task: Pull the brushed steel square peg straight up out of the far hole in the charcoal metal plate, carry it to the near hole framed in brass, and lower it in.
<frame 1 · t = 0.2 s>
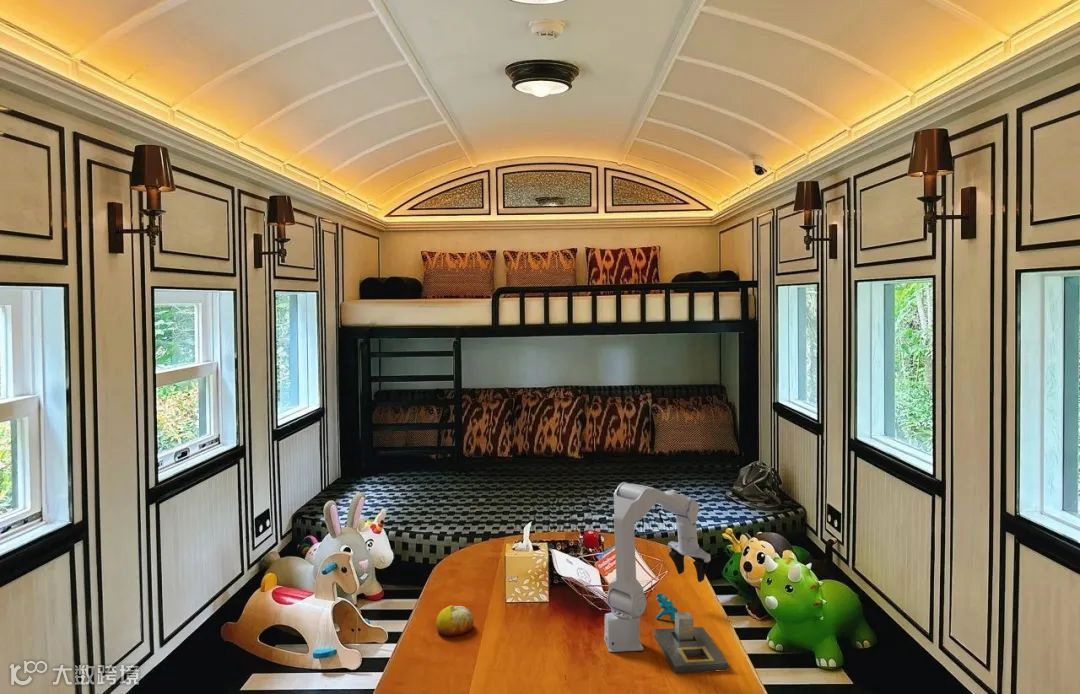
hand: (691, 576, 213), 11 cm above the table, tool pointing down, fingers open, 7 cm apart
steel peg: (683, 643, 193), resting in hole plate
hole plate: (689, 652, 188), on the table
teal lobed piece: (668, 620, 208), on the table
fruit: (455, 630, 202), on the table
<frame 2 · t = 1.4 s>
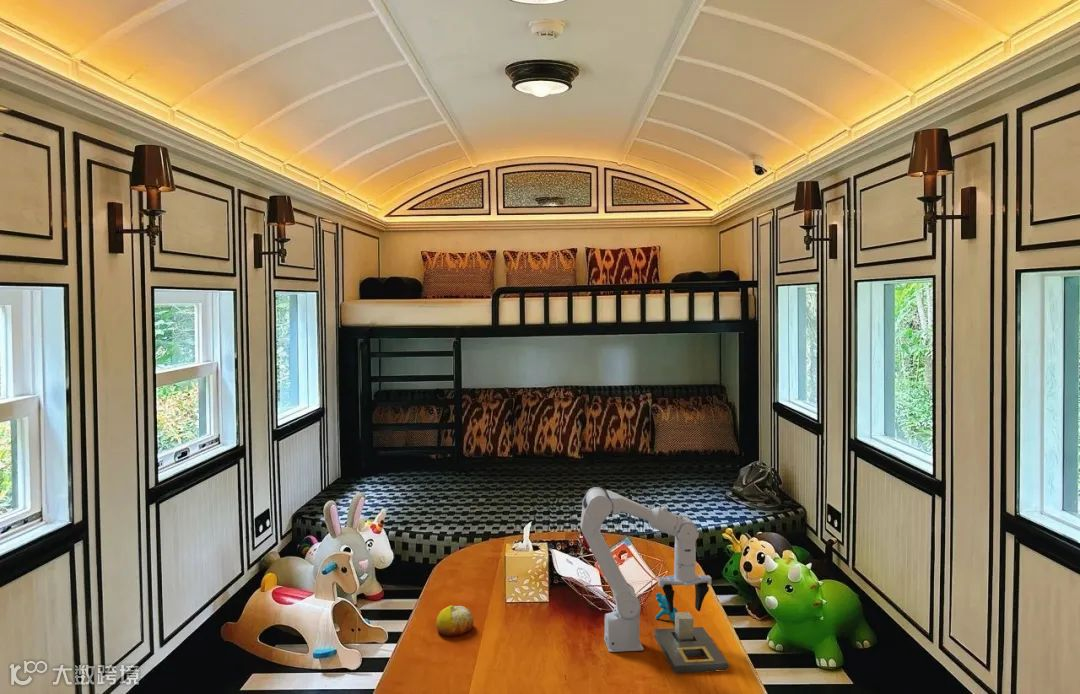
hand: (684, 610, 193), 9 cm above the table, tool pointing down, fingers open, 7 cm apart
nothing on the table moved.
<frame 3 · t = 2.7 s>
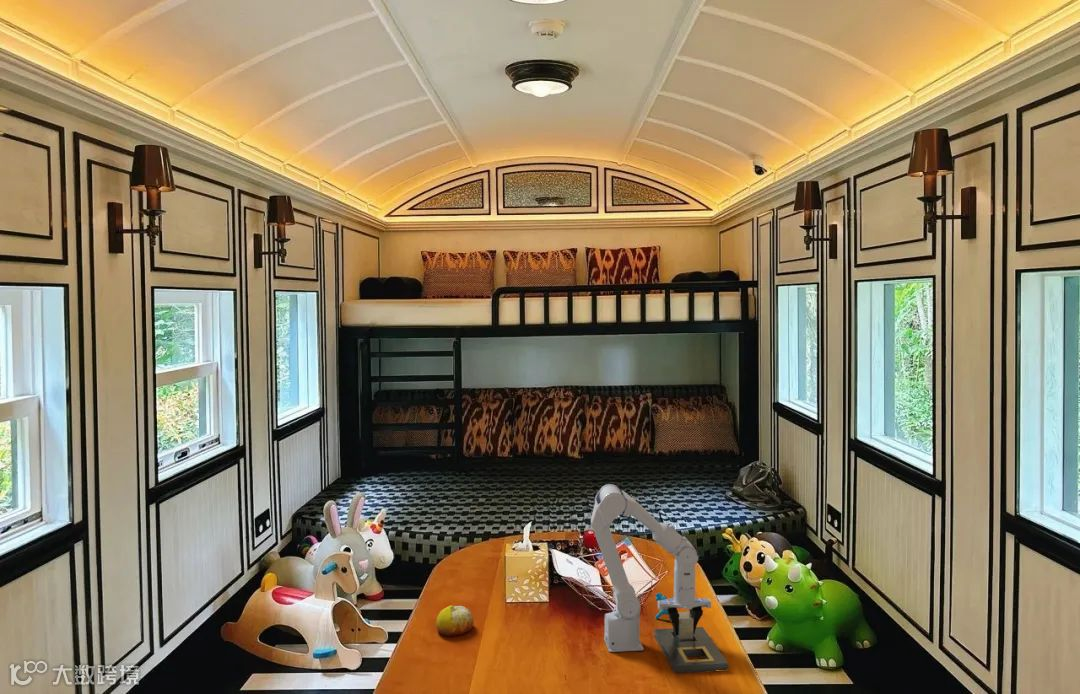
hand: (683, 633, 193), 3 cm above the table, tool pointing down, fingers closed on steel peg, 4 cm apart
steel peg: (683, 643, 193), resting in hole plate, touching gripper
everything else where it was.
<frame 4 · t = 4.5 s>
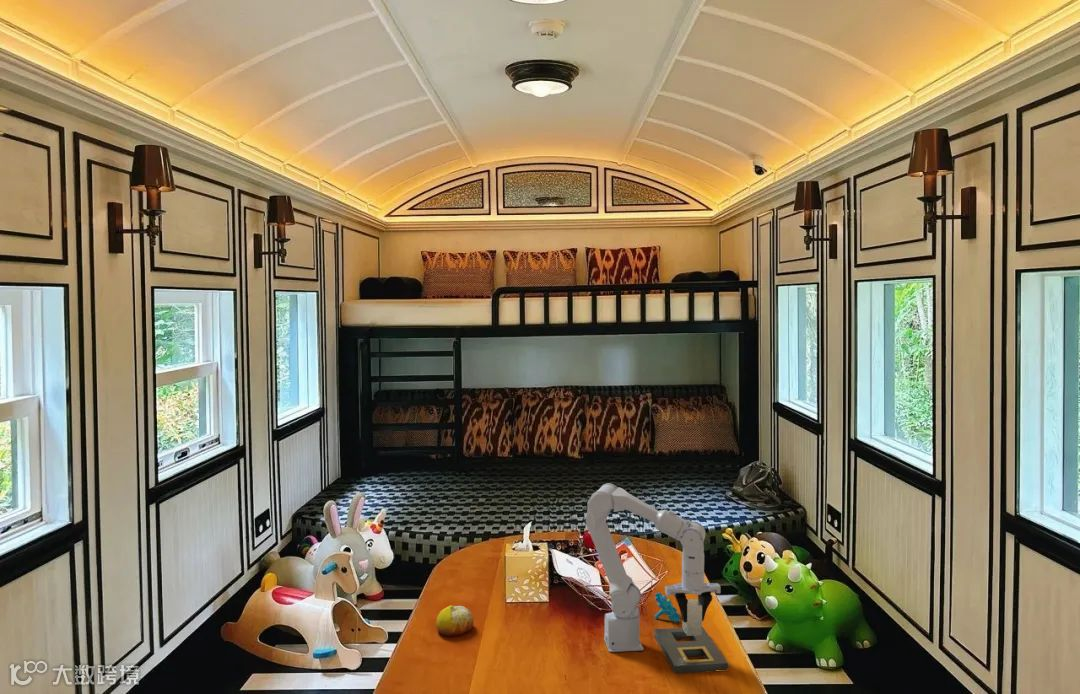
hand: (692, 620, 186), 10 cm above the table, tool pointing down, fingers closed on steel peg, 4 cm apart
steel peg: (692, 632, 186), point 7 cm above the table, touching gripper
everything else where it was.
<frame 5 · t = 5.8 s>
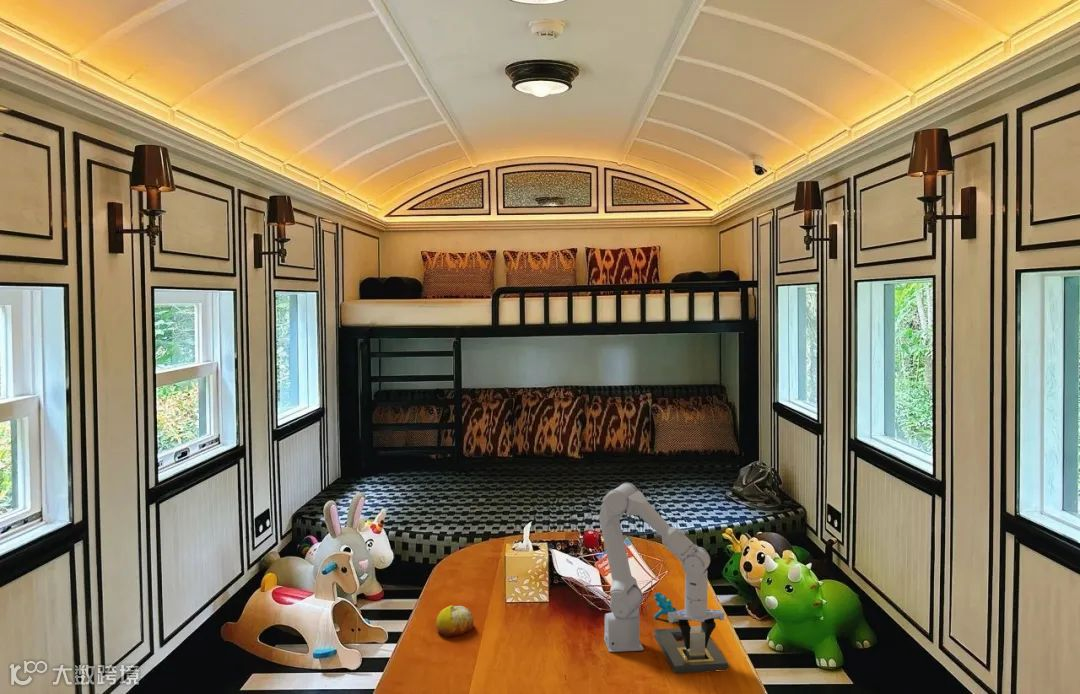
hand: (695, 646, 183), 4 cm above the table, tool pointing down, fingers closed on steel peg, 4 cm apart
steel peg: (695, 659, 184), point 1 cm above the table, touching gripper
everything else where it was.
when the fingers open (4 cm above the table, at t = 6.7 s): steel peg stays where it is, resting in hole plate.
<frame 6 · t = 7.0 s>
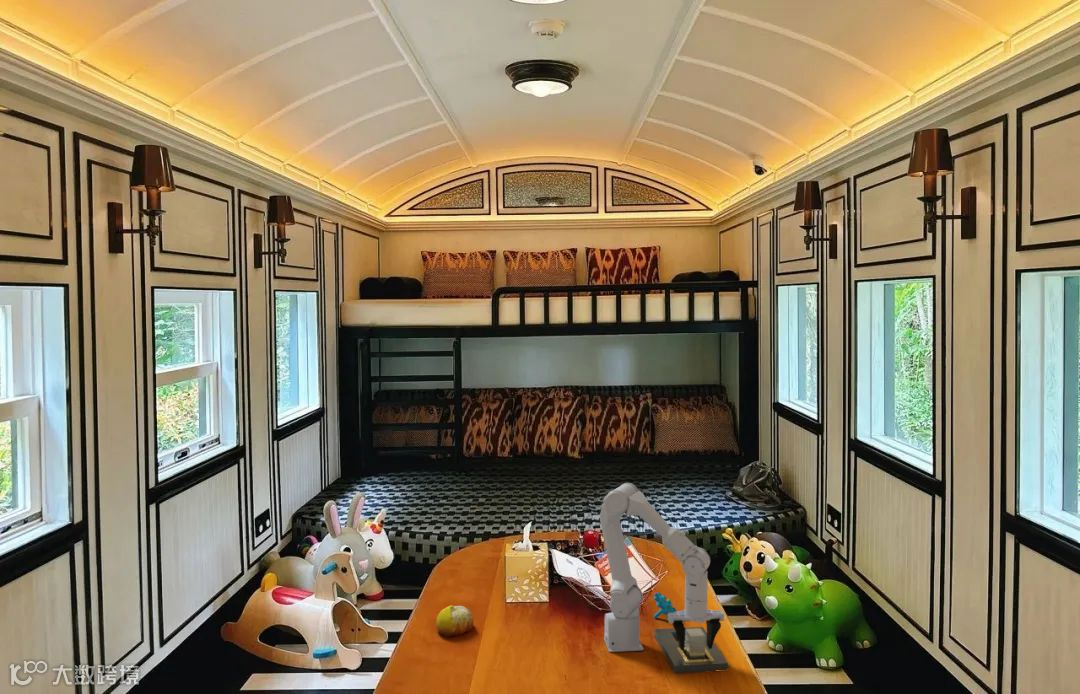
hand: (695, 647, 183), 4 cm above the table, tool pointing down, fingers open, 7 cm apart
steel peg: (694, 661, 184), resting in hole plate
everything else where it was.
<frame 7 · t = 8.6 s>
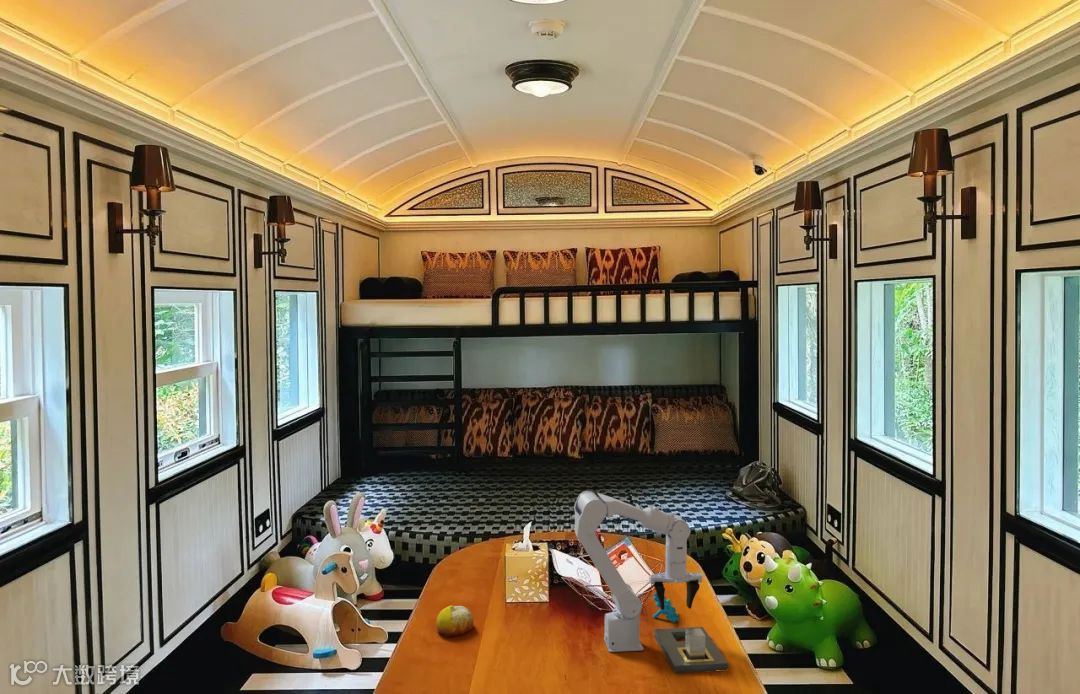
hand: (675, 607, 194), 9 cm above the table, tool pointing down, fingers open, 7 cm apart
nothing on the table moved.
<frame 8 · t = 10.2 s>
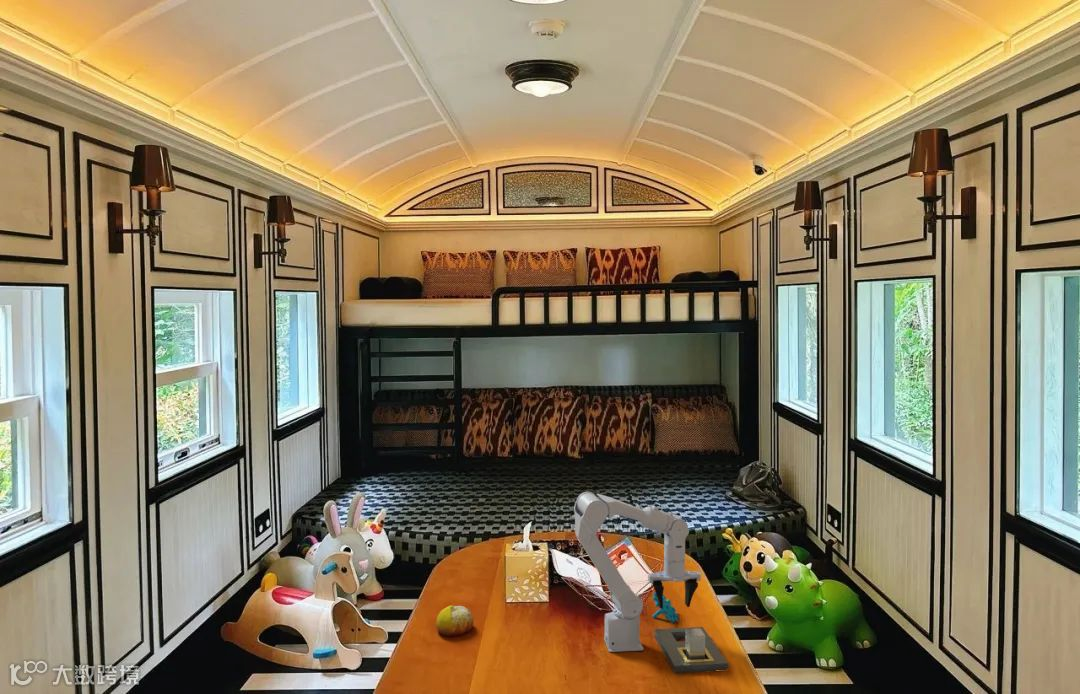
hand: (674, 606, 195), 9 cm above the table, tool pointing down, fingers open, 7 cm apart
nothing on the table moved.
at the end: steel peg 0.3 cm from the target spot on the hole plate, point 0.0 cm above the hole plate's base; steel peg tilted 0°; the gripper is holding nothing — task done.
